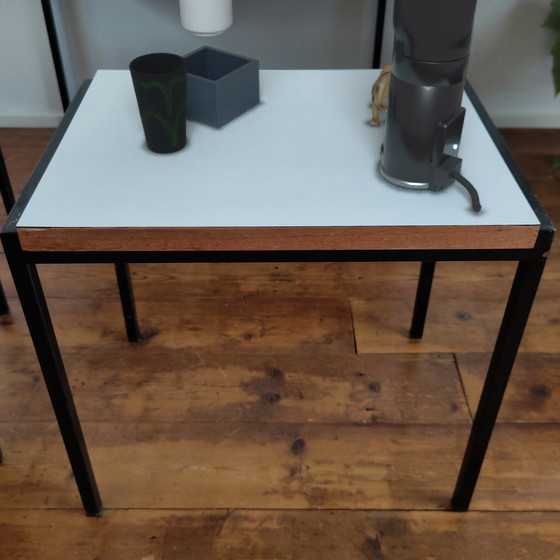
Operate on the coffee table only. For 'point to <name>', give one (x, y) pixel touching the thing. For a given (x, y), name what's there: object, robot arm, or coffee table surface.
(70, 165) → the coffee table surface
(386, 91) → the lion figurine
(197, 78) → the open box
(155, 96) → the cup
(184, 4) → the beverage can
